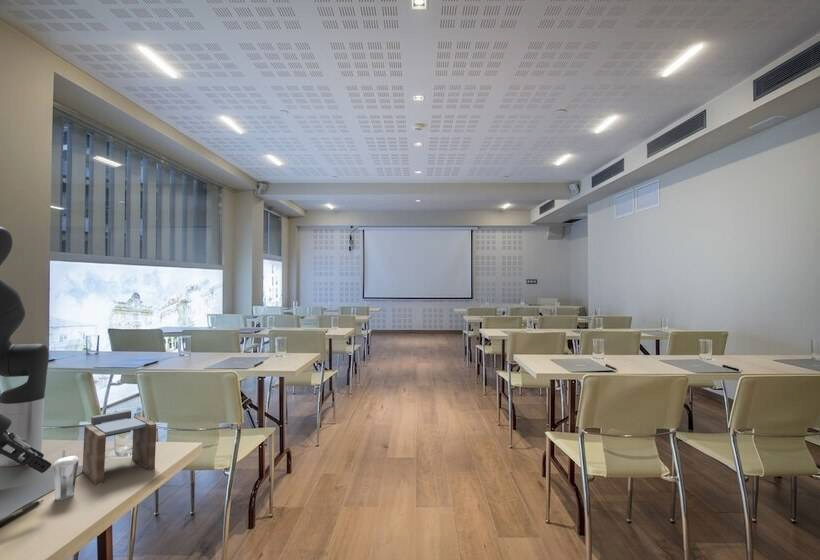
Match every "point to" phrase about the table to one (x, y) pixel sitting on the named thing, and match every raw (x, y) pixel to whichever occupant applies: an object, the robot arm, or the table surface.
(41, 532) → the table surface
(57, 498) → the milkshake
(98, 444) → the stand
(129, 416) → the trapdoor
